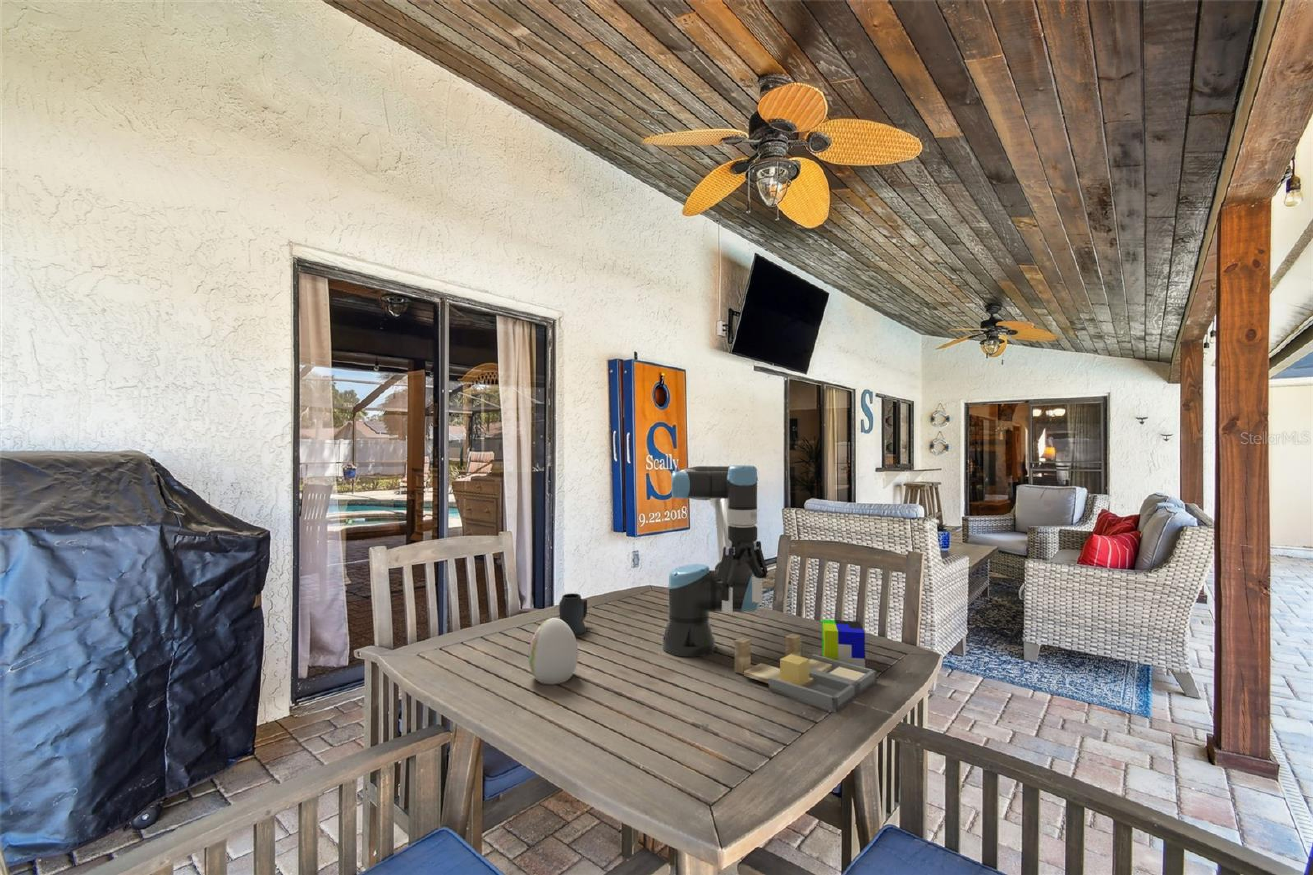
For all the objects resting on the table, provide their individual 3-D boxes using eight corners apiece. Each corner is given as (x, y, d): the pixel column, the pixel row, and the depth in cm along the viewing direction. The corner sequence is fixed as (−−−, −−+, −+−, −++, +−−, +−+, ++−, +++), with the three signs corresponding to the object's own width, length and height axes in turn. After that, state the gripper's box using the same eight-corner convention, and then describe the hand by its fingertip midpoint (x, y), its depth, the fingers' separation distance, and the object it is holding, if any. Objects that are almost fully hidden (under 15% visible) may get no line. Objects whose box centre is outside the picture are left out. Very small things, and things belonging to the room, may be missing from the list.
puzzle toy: (864, 671, 153) (864, 632, 153) (824, 668, 155) (824, 630, 155) (859, 658, 163) (859, 621, 163) (822, 655, 165) (822, 619, 165)
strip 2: (781, 669, 153) (781, 638, 153) (796, 661, 159) (796, 631, 159) (817, 680, 146) (817, 648, 146) (832, 671, 152) (831, 640, 152)
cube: (780, 680, 142) (780, 659, 142) (790, 674, 145) (790, 654, 145) (798, 686, 138) (798, 664, 138) (809, 679, 142) (809, 659, 142)
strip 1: (729, 674, 150) (729, 642, 150) (747, 665, 156) (747, 635, 156) (797, 696, 137) (797, 661, 137) (813, 685, 143) (813, 652, 143)
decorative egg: (548, 665, 157) (548, 609, 157) (587, 673, 151) (587, 615, 151) (518, 682, 146) (518, 621, 146) (559, 691, 140) (559, 628, 140)
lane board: (768, 690, 141) (768, 678, 141) (813, 665, 157) (813, 653, 157) (835, 712, 129) (835, 698, 129) (876, 682, 145) (876, 670, 145)
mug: (574, 637, 179) (574, 600, 179) (550, 633, 183) (550, 597, 184) (596, 627, 190) (596, 592, 190) (573, 623, 194) (573, 588, 194)
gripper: (725, 532, 141) (726, 621, 141) (780, 521, 159) (780, 600, 159) (701, 528, 146) (701, 615, 146) (756, 519, 164) (757, 595, 164)
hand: (742, 607), depth 152 cm, fingers open, 13 cm apart
